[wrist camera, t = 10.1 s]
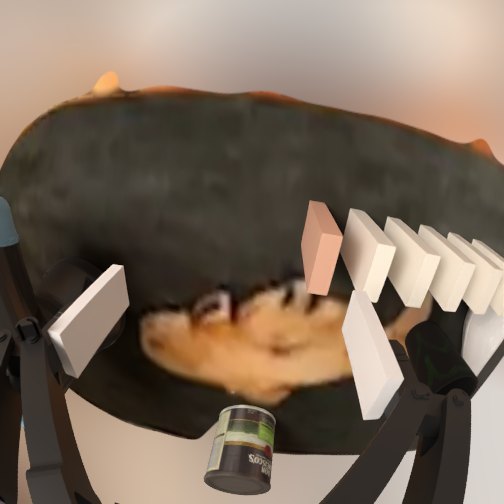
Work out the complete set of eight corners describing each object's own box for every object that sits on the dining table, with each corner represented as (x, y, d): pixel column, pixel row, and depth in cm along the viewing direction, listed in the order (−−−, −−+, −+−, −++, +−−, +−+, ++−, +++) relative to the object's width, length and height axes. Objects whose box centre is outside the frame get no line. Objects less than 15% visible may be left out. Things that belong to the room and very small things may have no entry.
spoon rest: (481, 260, 29) (510, 285, 23) (518, 282, 30) (542, 306, 23) (398, 382, 39) (408, 415, 33) (442, 388, 40) (454, 417, 33)
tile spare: (300, 244, 31) (307, 292, 22) (310, 200, 29) (321, 232, 20) (315, 246, 31) (326, 295, 22) (324, 203, 29) (343, 236, 20)
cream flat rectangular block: (460, 273, 30) (499, 316, 21) (473, 239, 28) (518, 274, 19) (468, 275, 30) (506, 316, 21) (481, 241, 28) (525, 276, 19)
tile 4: (436, 268, 31) (474, 313, 21) (449, 232, 28) (495, 268, 19) (445, 270, 30) (484, 314, 21) (458, 234, 28) (504, 271, 19)
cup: (437, 350, 36) (465, 407, 25) (394, 359, 37) (416, 422, 26) (448, 310, 33) (486, 367, 22) (402, 319, 34) (433, 384, 23)
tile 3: (407, 263, 31) (443, 310, 22) (420, 224, 29) (464, 262, 20) (418, 265, 31) (455, 312, 22) (431, 227, 29) (476, 264, 19)
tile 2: (375, 257, 31) (405, 306, 22) (387, 216, 29) (426, 253, 20) (387, 259, 31) (420, 307, 22) (399, 219, 29) (441, 256, 20)
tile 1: (339, 251, 31) (359, 300, 22) (350, 208, 29) (378, 243, 20) (352, 253, 31) (376, 302, 22) (364, 211, 29) (396, 247, 20)
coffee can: (257, 398, 42) (247, 473, 30) (285, 426, 46) (282, 492, 33) (207, 410, 45) (189, 476, 33) (238, 436, 48) (228, 496, 36)
